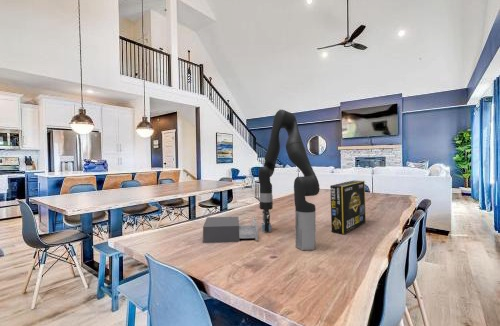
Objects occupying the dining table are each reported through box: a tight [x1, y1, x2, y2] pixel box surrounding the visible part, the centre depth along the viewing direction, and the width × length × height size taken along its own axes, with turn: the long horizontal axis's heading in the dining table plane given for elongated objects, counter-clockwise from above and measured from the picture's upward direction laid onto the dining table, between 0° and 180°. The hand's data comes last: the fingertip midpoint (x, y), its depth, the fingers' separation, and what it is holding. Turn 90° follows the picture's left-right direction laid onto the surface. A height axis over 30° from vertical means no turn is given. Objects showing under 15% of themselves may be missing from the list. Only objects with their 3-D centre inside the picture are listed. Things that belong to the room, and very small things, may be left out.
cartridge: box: [261, 222, 272, 233], centre depth 148 cm, size 4×5×4 cm
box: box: [329, 180, 367, 235], centre depth 153 cm, size 34×8×27 cm, turn 137°
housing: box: [202, 216, 240, 244], centre depth 138 cm, size 18×20×8 cm
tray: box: [239, 215, 259, 241], centre depth 139 cm, size 18×20×8 cm
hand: (266, 230), depth 148 cm, fingers closed on cartridge, 4 cm apart
